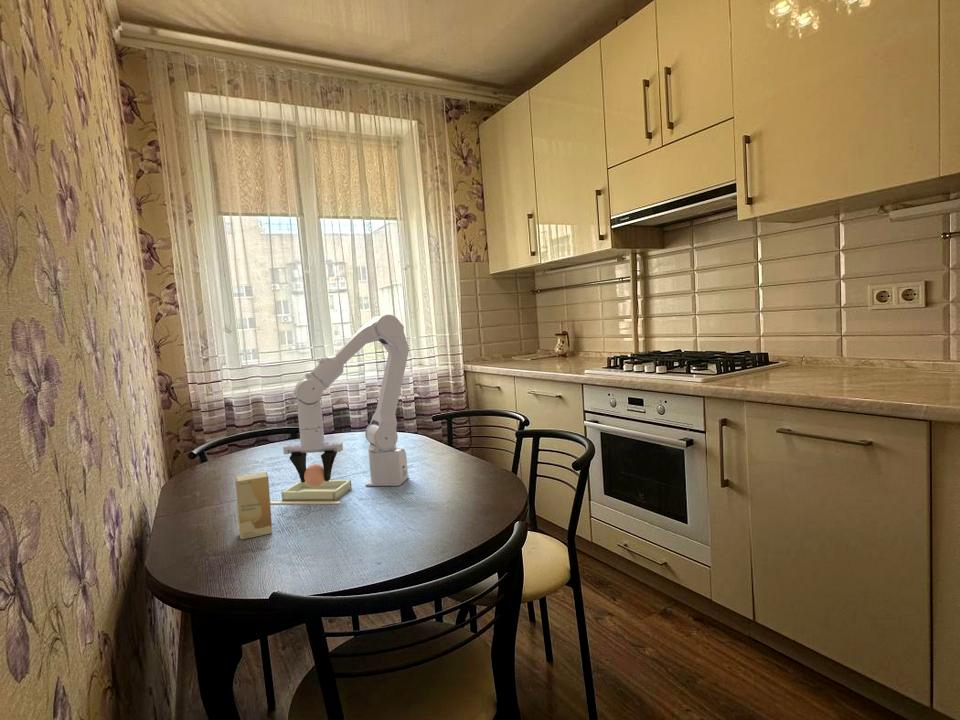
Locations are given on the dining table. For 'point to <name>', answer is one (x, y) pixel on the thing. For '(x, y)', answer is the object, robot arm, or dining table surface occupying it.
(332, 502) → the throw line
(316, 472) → the ball
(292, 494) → the tray
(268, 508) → the skincare box
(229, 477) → the dining table surface
